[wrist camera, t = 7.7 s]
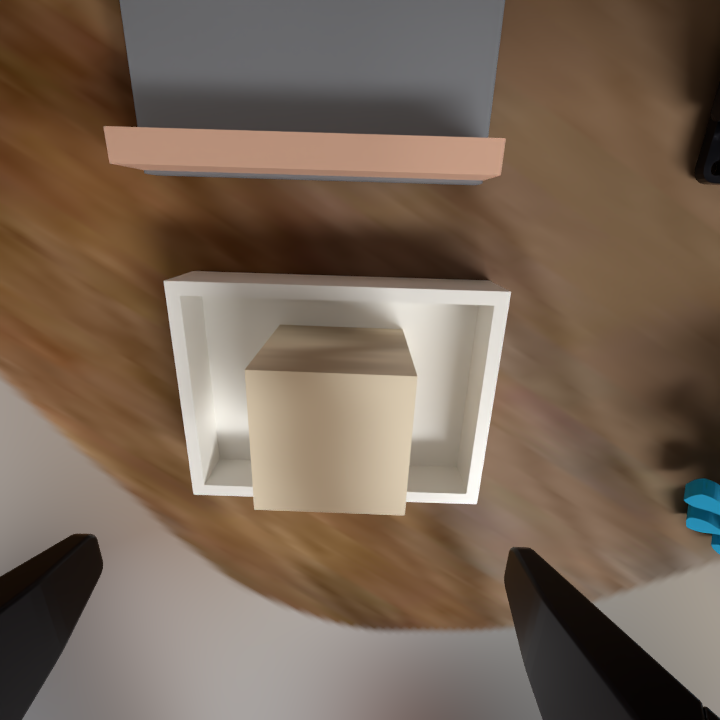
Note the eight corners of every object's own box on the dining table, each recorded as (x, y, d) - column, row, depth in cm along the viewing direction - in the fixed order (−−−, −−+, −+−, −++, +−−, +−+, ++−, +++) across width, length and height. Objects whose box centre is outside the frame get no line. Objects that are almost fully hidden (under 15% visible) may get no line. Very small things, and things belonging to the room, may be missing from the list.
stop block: (402, 329, 16) (417, 376, 11) (394, 436, 18) (404, 515, 13) (279, 324, 16) (244, 369, 11) (283, 431, 18) (254, 509, 13)
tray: (489, 280, 16) (510, 292, 14) (463, 468, 19) (476, 504, 17) (193, 270, 16) (163, 280, 14) (214, 460, 19) (193, 494, 17)
